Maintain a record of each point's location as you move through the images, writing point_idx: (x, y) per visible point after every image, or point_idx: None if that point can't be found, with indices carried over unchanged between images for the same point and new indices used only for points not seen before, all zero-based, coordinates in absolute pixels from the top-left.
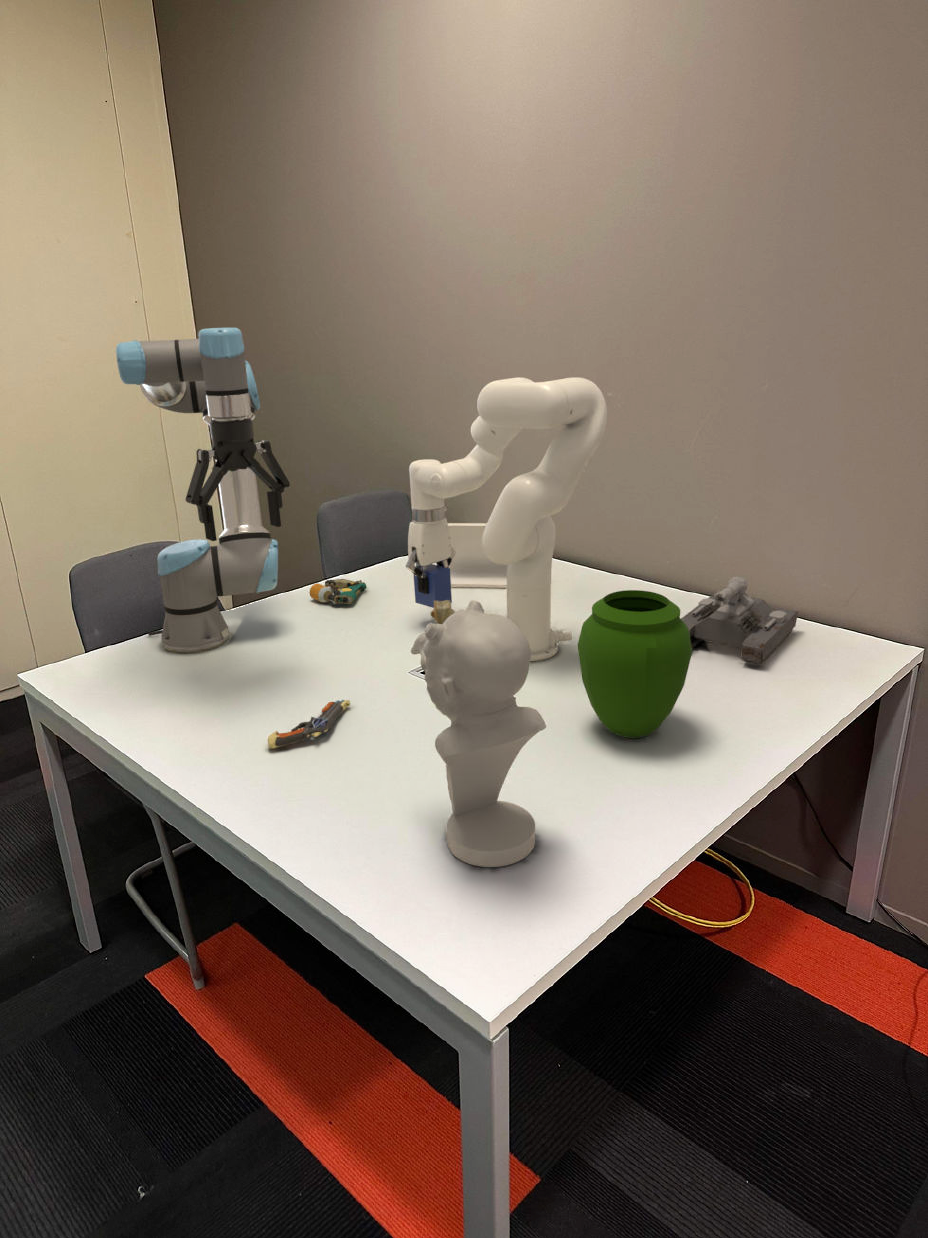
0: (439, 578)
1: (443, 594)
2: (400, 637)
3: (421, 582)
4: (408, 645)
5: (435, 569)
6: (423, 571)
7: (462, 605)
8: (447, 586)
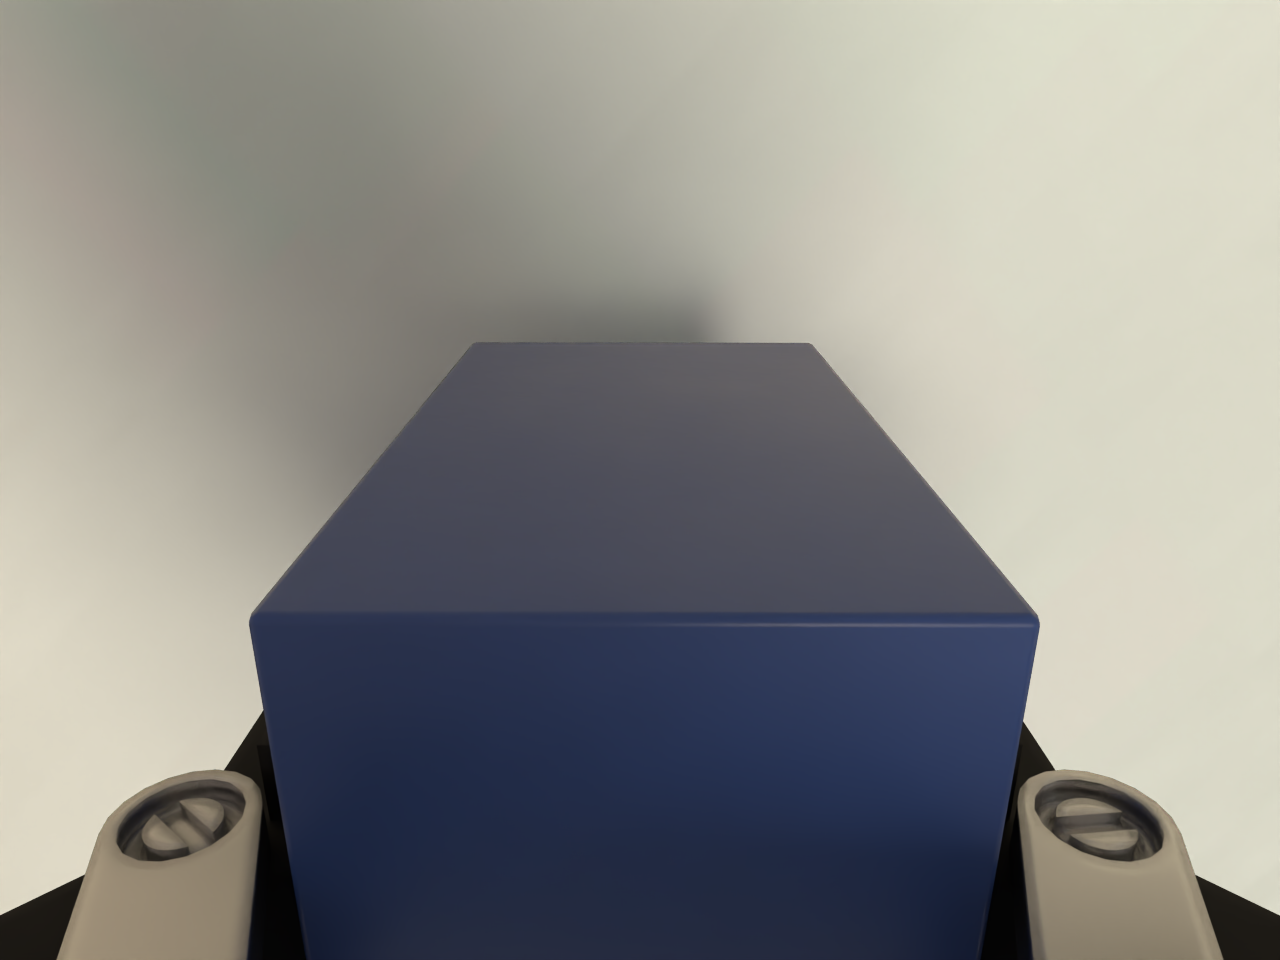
0: (754, 524)
1: (638, 389)
2: (1117, 456)
3: (1034, 762)
4: (1254, 222)
5: (649, 880)
6: (1195, 925)
7: (61, 642)
8: (505, 429)
